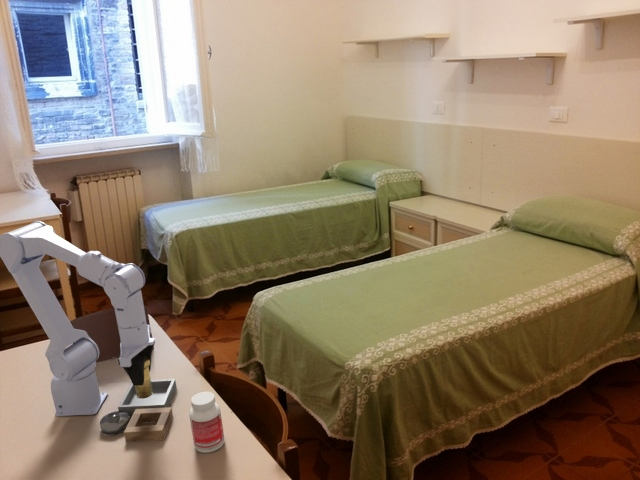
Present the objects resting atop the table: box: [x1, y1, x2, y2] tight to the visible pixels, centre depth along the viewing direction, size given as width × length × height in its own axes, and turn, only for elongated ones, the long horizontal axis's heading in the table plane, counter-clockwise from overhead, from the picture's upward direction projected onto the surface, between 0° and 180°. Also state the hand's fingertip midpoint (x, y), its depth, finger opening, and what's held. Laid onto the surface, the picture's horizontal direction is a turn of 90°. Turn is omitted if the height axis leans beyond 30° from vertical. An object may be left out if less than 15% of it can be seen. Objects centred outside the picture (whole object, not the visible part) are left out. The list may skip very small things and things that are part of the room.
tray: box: [117, 378, 177, 418], centre depth 132 cm, size 10×10×3 cm
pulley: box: [99, 410, 130, 436], centre depth 124 cm, size 6×6×3 cm
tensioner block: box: [123, 406, 174, 443], centre depth 122 cm, size 8×8×2 cm
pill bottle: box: [188, 391, 225, 454], centre depth 115 cm, size 6×6×11 cm
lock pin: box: [135, 358, 153, 399], centre depth 123 cm, size 4×4×8 cm
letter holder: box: [69, 305, 155, 363], centre depth 155 cm, size 10×20×14 cm, turn 113°
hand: (142, 378), depth 123 cm, fingers closed on lock pin, 4 cm apart
